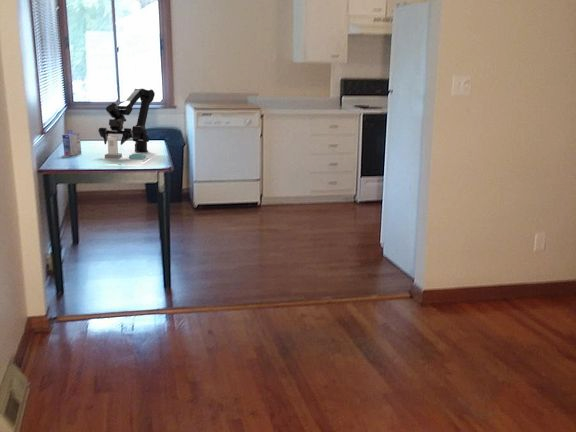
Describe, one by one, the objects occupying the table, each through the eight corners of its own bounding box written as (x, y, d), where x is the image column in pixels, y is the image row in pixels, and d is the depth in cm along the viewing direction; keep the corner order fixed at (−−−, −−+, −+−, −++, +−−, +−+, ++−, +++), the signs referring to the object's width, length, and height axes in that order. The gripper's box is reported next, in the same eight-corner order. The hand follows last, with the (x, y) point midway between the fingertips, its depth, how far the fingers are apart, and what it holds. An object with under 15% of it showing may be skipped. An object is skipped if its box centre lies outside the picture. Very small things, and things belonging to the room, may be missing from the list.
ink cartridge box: (74, 153, 370) (72, 128, 367) (81, 153, 369) (80, 129, 365) (63, 155, 361) (61, 130, 358) (71, 156, 360) (69, 131, 356)
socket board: (101, 160, 345) (100, 155, 345) (108, 157, 357) (108, 152, 356) (143, 161, 344) (143, 156, 344) (149, 158, 356) (149, 153, 355)
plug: (110, 156, 353) (109, 136, 350) (118, 157, 352) (117, 136, 350) (108, 158, 348) (106, 137, 345) (115, 158, 348) (114, 137, 345)
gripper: (98, 113, 351) (92, 134, 343) (130, 114, 350) (125, 135, 342) (103, 125, 361) (98, 147, 353) (135, 126, 360) (130, 148, 352)
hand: (113, 144), depth 350 cm, fingers open, 9 cm apart
